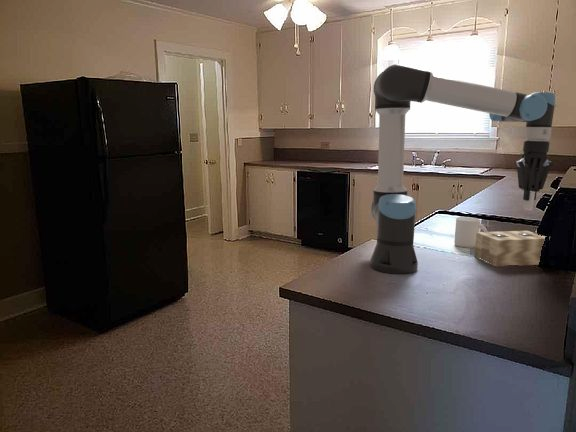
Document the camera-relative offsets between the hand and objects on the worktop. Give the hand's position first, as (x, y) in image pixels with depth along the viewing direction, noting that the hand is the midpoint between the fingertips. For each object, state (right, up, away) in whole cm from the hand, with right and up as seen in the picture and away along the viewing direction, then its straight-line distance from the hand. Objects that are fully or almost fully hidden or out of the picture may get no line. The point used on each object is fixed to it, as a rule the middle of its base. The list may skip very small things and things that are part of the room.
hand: (528, 209), depth 150 cm
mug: (-11, -14, +22) cm, 28 cm away
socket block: (-5, -18, +3) cm, 18 cm away
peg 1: (-10, -18, +2) cm, 20 cm away
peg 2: (0, -17, +3) cm, 18 cm away
